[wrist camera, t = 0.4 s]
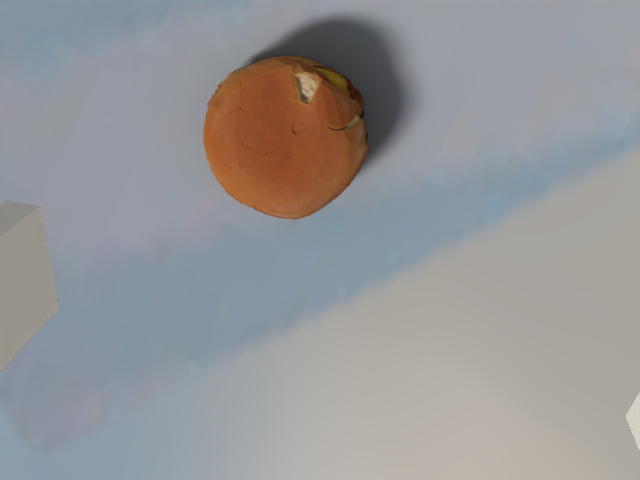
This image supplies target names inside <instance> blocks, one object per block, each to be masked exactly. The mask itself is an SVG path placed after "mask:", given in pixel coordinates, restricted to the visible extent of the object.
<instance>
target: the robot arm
mask: <svg viewBox="0 0 640 480" xmlns="http://www.w3.org/2000/svg"><path fill="white" fill-rule="evenodd" d="M58 309H59V305H58V300H57V294H56V289H55V284H54V279H53V273H52V268H51V263H50V258H49V253H48V247H47V242H46V237H45V232H44V226H43V221H42V216H41V211H40V206H35V205H29V204H23V203H18V202H12V201H4V202H3V203H1V204H0V372H1V371H2V370H3V368H4V367H5V366H6V365H7V364H8V363H9V362H10V361H11V360H12V359H13V358H14V356H15V355H16V354H17V353H18V352H19V351H20V350H21V349H22V348H23V347H24V346H25V345H26V343H27V342H28V341H29V340H30V339H31V338H32V337H33V336H34V335H35V334H36V333H37V332H38V330H39V329H40V328H41V327H42V326H43V325H44V324H45V323H46V322H47V321H48V320H49V319H50V317H51V316H52V315H53V314H54V313H55V312H56V311H57V310H58ZM626 418H627V421H628V423H629V426H630V428H631V431H632V433H633V436H634V438H635V440H636V443H637V445H638V448H639V450H640V393H639V394H638V396H637V398H636V400H635V401H634V403H633V405H632V406H631V408H630V410H629V411H628V413H627V415H626Z"/></svg>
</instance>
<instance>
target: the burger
mask: <svg viewBox="0 0 640 480" xmlns="http://www.w3.org/2000/svg"><path fill="white" fill-rule="evenodd" d="M207 105H209V107H208V110H207V113H206V120H205V124H204V131H203V142H204V147H205V153H206V158H207V161H208V163H209V166H210V168H211V171H212V172H213V174H214V176H215V177H216V179H217V180H218V182H219V183H220V184H221V186H222V187H223V188H224V189H225V191H226V192H227V193H228V194H229V195H230V196H232V197H233V198H234V199H236V200H237V201H238V202H240V203H242V204H245V205H247V206H249V207H253V208H254V209H255V210H257V211H259V212H262V213H264V214H267V215H271V216H274V217H278V218H285V219H299V218H303V217H306V216H309V215H311V214H313V213H315V212H317V211H319V210H320V209H321V208H323V207H324V206H326V205H327V204H328V203H330V202H331V201H332V200H334V199H335V198H337V197H338V196H339V195H340V194H341V193H342V192H343V191H344V190H345V189H346V188H347V187H348V186H349V185H350V183H351V182H352V180H353V179H354V177H355V176H356V175H357V173H358V172H359V170H360V168H361V167H362V165H363V163H364V160H365V158H366V155H367V152H368V149H369V143H367V142H366V141H367V137H368V134H367V132H366V129H365V123H364V119H362V117H363V116H364V111H363V107H364V103H363V99H362V96H361V94H360V92H359V91H358V89H356V88H354V87H353V85H352V83H351V82H350V80H349V79H347V78H346V77H344V76H342V75H340V74H339V73H337V72H336V71H335V70H334V69H332V68H329V67H324V66H323V65H321V64H320V63H318V62H316V61H314V60H311V59H309V58H304V57H300V56H279V57H272V58H268V59H264V60H260V61H257V62H255V63H253V64H251V65H249V66H247V67H245V68H239V69H237V70H235V71H233V72H232V73H230V74H229V75H228V76H227V77H226V79H225V80H224V81H223V82H221V83H220V84H219V85H218V89H217V90H216V91H215V94H213V95H212V99H210V101H209V102H208V103H207Z"/></svg>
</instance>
